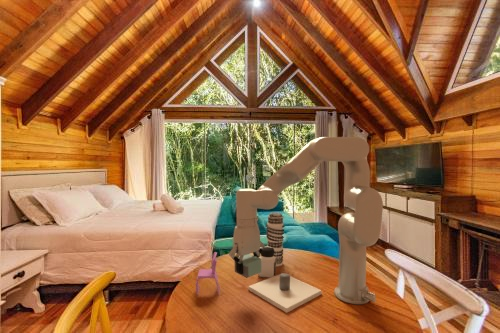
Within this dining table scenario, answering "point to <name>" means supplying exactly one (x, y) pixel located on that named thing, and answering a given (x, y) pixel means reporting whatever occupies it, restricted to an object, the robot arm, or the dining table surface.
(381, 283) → the dining table surface
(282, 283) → the post block
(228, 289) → the dining table surface
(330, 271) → the dining table surface
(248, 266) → the sage green cube
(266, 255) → the medicine bottle
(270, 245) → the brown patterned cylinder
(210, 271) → the toy chair
